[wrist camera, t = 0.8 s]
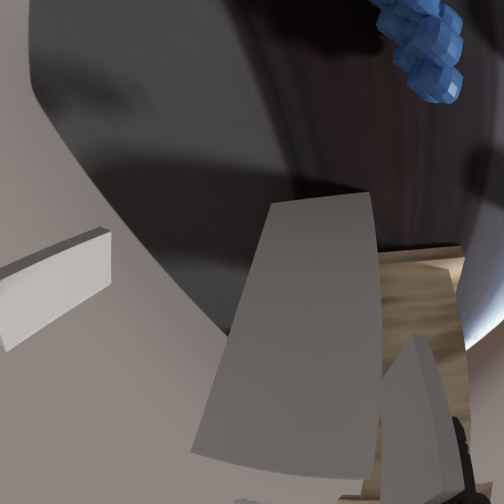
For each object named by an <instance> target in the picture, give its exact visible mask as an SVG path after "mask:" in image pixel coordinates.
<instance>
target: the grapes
mask: <svg viewBox="0 0 504 504" xmlns="http://www.w3.org/2000/svg"><path fill="white" fill-rule="evenodd" d="M368 1H370V2H371V3H373V4H374V5H376V6H377V7H379V8H381V9H380V10H381V11H380V14H379V17H378V20H377V23H376V26H377V27H378V28H377V30H379V31H380V32H381V33H382V34H384V35H385V36H386V37H388V38H389V39H391V40H393V41H394V42H395V43H396V44H397V45H398V47H397V48H396V51H395V53H394V57H393V60H392V62H393V63H394V64H395V65H397V66H398V67H399V68H400V69H401V70H402V71H404V72H405V73H407V74H408V79H407V82H406V84H407V85H408V86H409V87H410V88H411V89H412V90H413V91H414V92H415V93H416V94H417V95H418V96H420V97H421V98H423V99H424V100H425V101H427V102H432V103H438V102H441V103H448V104H451V103H452V102H454V101H455V100H456V99H457V98H458V95H459V93H460V90H461V86H462V81H463V76H462V75H461V74H460V73H459V71H458V70H457V69H456V68H455V67H454V65H455V64H456V63H458V61H459V58H460V55H461V52H462V48H463V39H462V38H461V37H460V36H459V35H460V32H461V28H462V21H463V20H462V19H461V18H460V17H459V15H458V14H457V13H456V12H455V11H454V10H453V9H451V8H450V7H449V6H448V5H447V4H445V3H442V2H440V0H368Z"/></svg>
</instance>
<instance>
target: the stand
mask: <svg viewBox="0 0 504 504" xmlns="http://www.w3.org/2000/svg"><path fill="white" fill-rule="evenodd" d="M464 259H465V256H464V253H463V250H462V247H461V246H453V247H441V248H430V249H418V250H406V251H393V252H381V253H378V262H379V274H380V287H381V306H382V379H383V377H384V376H385V374H386V373H387V371H388V370H389V368H390V367H391V365H392V364H393V362H394V360H395V359H396V357H397V356H398V354H399V352H400V351H401V349H402V347H403V346H404V344H405V342H406V340H407V339H408V337H409V335H410V333H413V334H417V335H420V336H424V337H427V339H428V342H429V345H430V348H431V351H432V353H433V356H434V359H435V362H436V365H437V368H438V371H439V374H440V378H441V381H442V384H443V387H444V391H445V394H446V398H447V401H448V405H449V409H450V413H451V416H453V417H457V418H458V420H459V421H460V423H461V424H462V426H463V428H464V431H465V435H466V439H467V442H466V444H468V448H469V453H468V454H470V428H471V422H470V421H471V419H470V418H471V417H470V390H469V377H468V367H467V358H466V350H465V343H464V336H463V330H462V325H461V319H460V314H459V309H458V305H457V300H456V296H455V292H456V288H457V285H458V282H459V278H460V274H461V271H462V267H463V263H464ZM381 475H382V419H381V400H380V414H379V424H378V434H377V442H376V450H375V457H374V464H373V470H372V476H371V480H363V486H362V490H361V495H342V496H341V497H340V498H339V499H338V500H337V504H380V494H381ZM492 483H493V482H488V483H481V484H475V488H476V492H477V493H482V494H484V495H486V496H487V498H488V499H489V500H490V498H491V491H492Z"/></svg>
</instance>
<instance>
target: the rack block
mask: <svg viewBox="0 0 504 504" xmlns="http://www.w3.org/2000/svg"><path fill="white" fill-rule="evenodd" d="M381 380H382V306H381V287H380V274H379V262H378V252H377V243H376V234H375V227H374V219H373V212H372V206H371V199H370V193H369V192H362V193H353V194H343V195H334V196H326V197H317V198H309V199H301V200H293V201H286V202H278V203H271V206H270V209H269V212H268V215H267V218H266V222H265V225H264V228H263V231H262V234H261V237H260V240H259V243H258V246H257V250H256V253H255V256H254V259H253V262H252V265H251V268H250V271H249V274H248V277H247V281H246V284H245V287H244V290H243V293H242V296H241V299H240V302H239V305H238V308H237V311H236V315H235V318H234V321H233V324H232V327H231V330H230V333H229V336H228V339H227V343H226V345H225V349H224V351H223V355H222V358H221V361H220V364H219V367H218V370H217V373H216V376H215V379H214V382H213V385H212V388H211V391H210V395H209V398H208V401H207V404H206V407H205V410H204V413H203V416H202V419H201V422H200V425H199V428H198V431H197V434H196V437H195V440H194V443H193V446H192V449H191V452H192V453H195V454H198V455H201V456H205V457H208V458H211V459H216V460H218V461H222V462H226V463H230V464H234V465H238V466H243V467H247V468H252V469H257V470H262V471H268V472H273V473H280V474H287V475H294V476H303V477H312V478H323V479H324V478H325V479H341V480H371V476H372V470H373V464H374V457H375V450H376V442H377V434H378V424H379V414H380V400H381V398H380V382H381Z"/></svg>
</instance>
